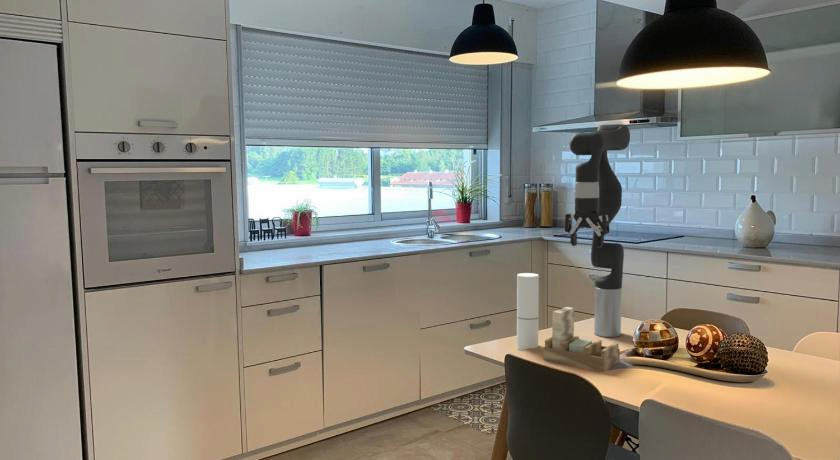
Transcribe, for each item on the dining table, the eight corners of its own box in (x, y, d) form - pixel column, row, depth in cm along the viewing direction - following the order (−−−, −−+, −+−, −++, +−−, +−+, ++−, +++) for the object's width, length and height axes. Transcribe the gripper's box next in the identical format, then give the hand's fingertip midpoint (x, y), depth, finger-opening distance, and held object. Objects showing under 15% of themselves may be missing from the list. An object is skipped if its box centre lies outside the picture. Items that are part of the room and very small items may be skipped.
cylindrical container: (537, 345, 222) (537, 273, 220) (539, 351, 215) (539, 276, 213) (516, 345, 223) (516, 273, 220) (517, 351, 216) (517, 276, 213)
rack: (561, 353, 213) (562, 332, 212) (619, 364, 200) (619, 342, 200) (543, 363, 203) (543, 341, 202) (602, 375, 191) (602, 351, 190)
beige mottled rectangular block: (565, 352, 210) (566, 306, 209) (573, 354, 209) (574, 307, 207) (552, 359, 203) (552, 311, 202) (560, 360, 202) (560, 313, 200)
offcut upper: (577, 347, 205) (577, 338, 205) (591, 349, 203) (592, 340, 202) (569, 352, 200) (569, 344, 199) (583, 355, 197) (583, 346, 197)
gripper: (613, 195, 206) (612, 246, 207) (571, 194, 215) (571, 243, 216) (603, 197, 200) (602, 249, 202) (560, 196, 209) (560, 246, 211)
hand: (586, 246), depth 209 cm, fingers open, 8 cm apart
